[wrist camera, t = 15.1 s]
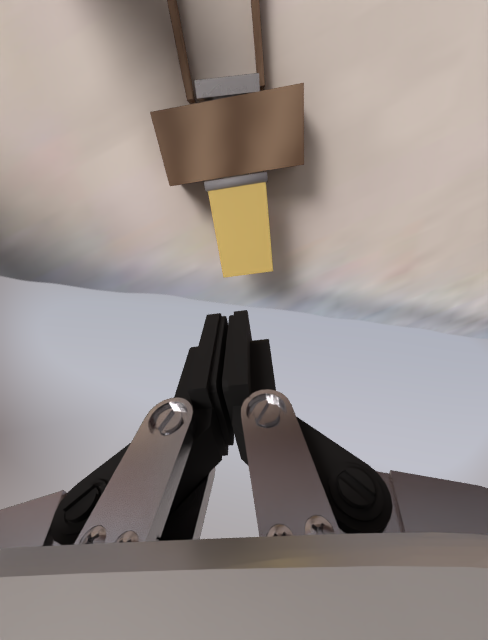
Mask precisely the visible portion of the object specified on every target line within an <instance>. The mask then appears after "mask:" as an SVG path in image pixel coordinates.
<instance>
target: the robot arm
mask: <svg viewBox="0 0 488 640" xmlns="http://www.w3.org/2000/svg"><path fill="white" fill-rule="evenodd" d="M234 434H235V437H236V442H237V445H238V449H239V452H240V456H241V459H242V460H243V461H244V462H245V463H246V464H247V465H248V466H249V471H250V478H251V484H252V491H253V497H254V504H255V510H256V517H257V523H258V530H259V537H246V538H221V539H200V535H201V531H202V527H203V523H204V518H205V514H206V510H207V505H208V501H209V497H210V492H211V488H212V484H213V480H214V475H215V466H216V465H217V464H218V463H219V462H220V461H221V460H222V456H225V455H228V445H233V443H234ZM0 640H488V488H485V487H482V486H478V485H472V484H467V483H461V482H454V481H449V480H444V479H438V478H432V477H426V476H420V475H415V474H408V473H403V472H398V471H392V470H391V471H390V473H389V474H388V473H383V472H377V471H375V470H374V469H372V468H371V467H370V466H369V465H368V464H366V463H365V462H363V461H362V460H360V459H359V458H357V457H355V456H354V455H353V454H351V453H350V452H348V451H346V450H345V449H344V448H342V447H341V446H339V445H338V444H336V443H335V442H333V441H332V440H330V439H329V438H327V437H326V436H324V435H323V434H321V433H320V432H319V431H317V430H316V429H314V428H313V427H311V426H310V425H308V424H307V423H305V422H304V421H302V420H300V419H299V418H298V417H296V415H295V413H294V410H293V408H292V405H291V403H290V401H289V400H288V398H287V397H286V396H285V395H283V394H282V393H280V392H278V391H276V387H275V380H274V373H273V366H272V359H271V351H270V344H269V339H264V340H255V341H252V338H251V331H250V324H249V318H248V312H247V310H244V311H236V312H234V315H231V316H229V323H227V318H226V316H221V314H220V313H219V314H210V315H207V317H206V320H205V324H204V328H203V331H202V335H201V339H200V342H199V346H198V347H191V348H190V350H189V353H188V355H187V359H186V362H185V365H184V368H183V371H182V375H181V378H180V381H179V384H178V387H177V390H176V394H175V397H174V398H170V399H167V400H164V401H162V402H160V403H159V404H157V405H156V406H155V407H153V408H152V409H151V410H150V411H149V413H148V414H147V416H146V417H145V419H144V421H143V422H142V424H141V426H140V428H139V430H138V431H137V433H136V435H135V437H134V438H133V440H132V442H131V443H130V444H129V445H127V446H126V447H125V448H123V449H122V450H121V451H120V452H118V453H117V454H116V455H114V456H113V457H112V458H110V459H109V460H108V461H106V462H105V463H104V464H103V465H101V466H100V467H99V468H97V469H96V470H95V471H93V472H92V473H91V474H90V475H88V476H87V477H86V478H84V479H83V480H82V481H81V482H79V483H78V484H77V485H76V486H74V487H73V488H72V489H71V490H70V491H69V492H68V493H66V492H65V491H64V490H62V491H59V492H56V493H53V494H50V495H46V496H43V497H40V498H37V499H33V500H30V501H27V502H24V503H21V504H17V505H14V506H11V507H8V508H5V509H1V510H0Z"/></svg>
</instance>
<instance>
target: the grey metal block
mask: <svg viewBox="0 0 488 640" xmlns="http://www.w3.org/2000/svg"><path fill="white" fill-rule="evenodd" d="M194 82H195V89H196V96H197V99H198V101H199V102H200V103H201V102H206V101H211V100H216V99H222V98H227V97H232V96H237V95H243V94H248V93H253V92H258V91H260V85H259V73H254V74H245V75H237V76H228V77H219V78H210V79H202V80H194ZM243 175H249V173H248V174H242V175H236V176H230V177H223V178H222V179H224V178H231V177H237V176H243Z"/></svg>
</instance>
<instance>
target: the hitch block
mask: <svg viewBox="0 0 488 640" xmlns="http://www.w3.org/2000/svg"><path fill="white" fill-rule="evenodd" d="M167 2H168V7H169V12H170V17H171V22H172V27H173V32H174V37H175V42H176V47H177V52H178V57H179V62H180V67H181V72H182V77H183V82H184V87H185V92H186V97H187V101H188V102H189V103H190V105H185V106H180V107H175V108H169V109H164V110H159V111H154V112H150V114H151V117H152V121H153V125H154V129H155V132H156V136H157V140H158V144H159V147H160V151H161V155H162V159H163V162H164V166H165V170H166V174H167V177H168V181H169V185H170V186H174V185H181V184H187V183H193V182H199V181H205V180H211V179H217V178H223V177H230V176H236V175H242V174H248V173H254V172H260V171H266V170H272V169H278V168H285V167H291V166H297V165H303V164H304V83H300V84H295V85H290V86H285V87H279V88H274V89H269V90H264V87H265V80H264V65H263V50H262V35H261V20H260V5H259V0H251V8H252V20H253V33H254V46H255V59H256V71H257V73H259V85H260V90H264V91H258V92H253V93H248V94H243V95H237V96H232V97H227V98H222V99H216V100H211V101H206V102H201V103H196V102H195V97H194V91H193V86H192V81H191V75H190V70H189V64H188V59H187V54H186V48H185V43H184V38H183V32H182V27H181V21H180V16H179V11H178V5H177V0H167ZM191 103H195V104H191Z"/></svg>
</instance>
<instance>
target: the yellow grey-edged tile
mask: <svg viewBox="0 0 488 640" xmlns="http://www.w3.org/2000/svg"><path fill="white" fill-rule="evenodd" d="M266 182H268V177H267V172H261V173H255V174H249V175H243V176H237V177H231V178H224V179H218V180H212V181H206V182H204V186H205V190H206V192H207V191H208V195H209V200H210V206H211V211H212V217H213V222H214V228H215V233H216V239H217V244H218V250H219V255H220V261H221V266H222V272H223V277H232V276H239V275H247V274H255V273H263V272H270V271H273V264H272V252H271V240H270V228H269V216H268V204H267V192H266Z"/></svg>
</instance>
